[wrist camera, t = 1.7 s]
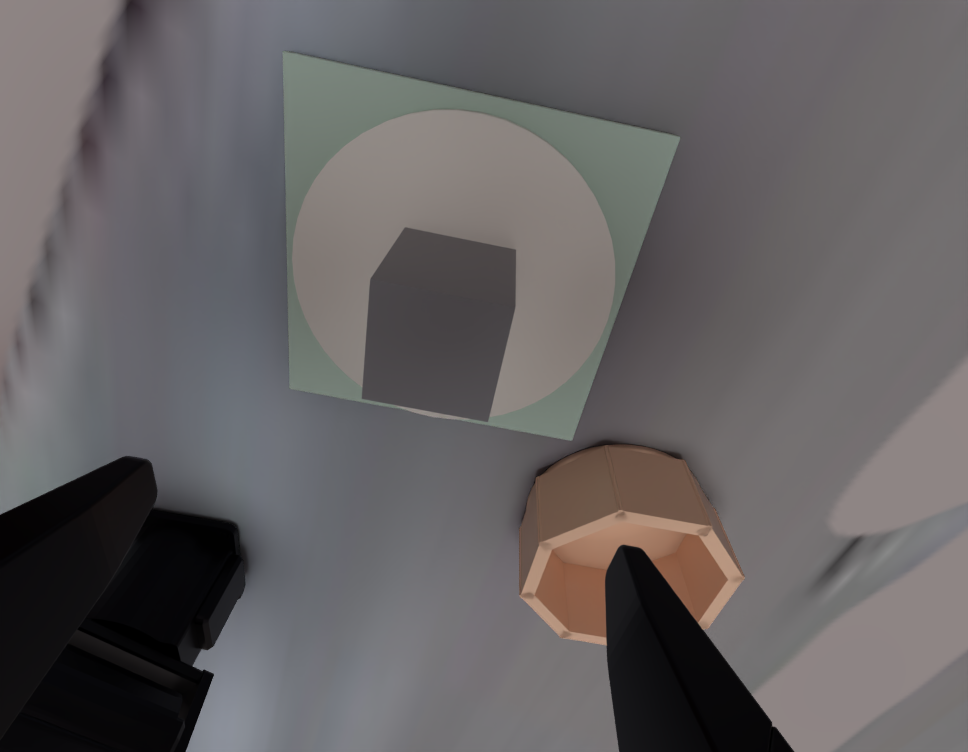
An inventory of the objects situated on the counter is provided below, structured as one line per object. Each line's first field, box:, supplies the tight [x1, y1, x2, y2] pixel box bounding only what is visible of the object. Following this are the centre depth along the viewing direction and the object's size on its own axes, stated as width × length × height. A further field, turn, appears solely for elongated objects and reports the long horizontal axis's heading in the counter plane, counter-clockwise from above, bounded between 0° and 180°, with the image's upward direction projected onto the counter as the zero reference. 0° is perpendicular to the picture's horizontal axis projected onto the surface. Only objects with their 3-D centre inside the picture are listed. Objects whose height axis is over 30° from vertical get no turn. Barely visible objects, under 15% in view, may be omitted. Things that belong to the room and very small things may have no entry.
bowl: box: [519, 444, 745, 645], centre depth 25 cm, size 9×9×4 cm
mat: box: [283, 51, 681, 441], centre depth 20 cm, size 13×13×1 cm
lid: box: [292, 109, 615, 422], centre depth 17 cm, size 12×12×6 cm
